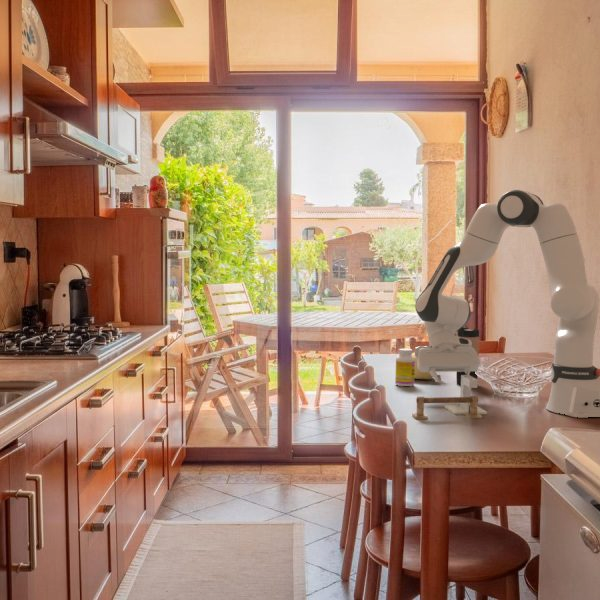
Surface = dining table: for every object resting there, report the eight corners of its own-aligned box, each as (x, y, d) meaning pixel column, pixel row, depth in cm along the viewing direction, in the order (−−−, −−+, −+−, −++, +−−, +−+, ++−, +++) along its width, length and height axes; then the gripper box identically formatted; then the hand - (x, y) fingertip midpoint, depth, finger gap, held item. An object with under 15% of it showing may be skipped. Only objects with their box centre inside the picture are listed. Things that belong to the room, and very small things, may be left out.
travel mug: (462, 387, 256) (464, 330, 255) (452, 383, 264) (453, 328, 262) (481, 386, 258) (483, 330, 257) (471, 382, 266) (472, 327, 264)
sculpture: (443, 380, 268) (444, 351, 267) (414, 382, 264) (415, 353, 263) (426, 375, 279) (427, 347, 278) (399, 377, 274) (399, 348, 273)
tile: (475, 406, 226) (475, 404, 226) (487, 414, 216) (487, 412, 216) (443, 406, 224) (443, 405, 224) (454, 414, 215) (454, 412, 215)
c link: (467, 407, 221) (468, 374, 221) (476, 413, 214) (477, 379, 213) (460, 407, 221) (461, 375, 220) (468, 413, 214) (469, 379, 213)
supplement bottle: (413, 387, 254) (414, 351, 253) (394, 386, 256) (395, 350, 255) (414, 384, 261) (415, 348, 260) (395, 383, 262) (396, 347, 261)
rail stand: (477, 415, 214) (477, 395, 214) (481, 418, 211) (482, 397, 210) (412, 416, 212) (412, 395, 211) (415, 419, 208) (416, 398, 208)
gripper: (415, 340, 237) (423, 375, 228) (475, 340, 240) (486, 374, 231) (411, 352, 242) (418, 387, 233) (470, 351, 244) (480, 386, 235)
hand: (452, 381), depth 232 cm, fingers open, 8 cm apart
